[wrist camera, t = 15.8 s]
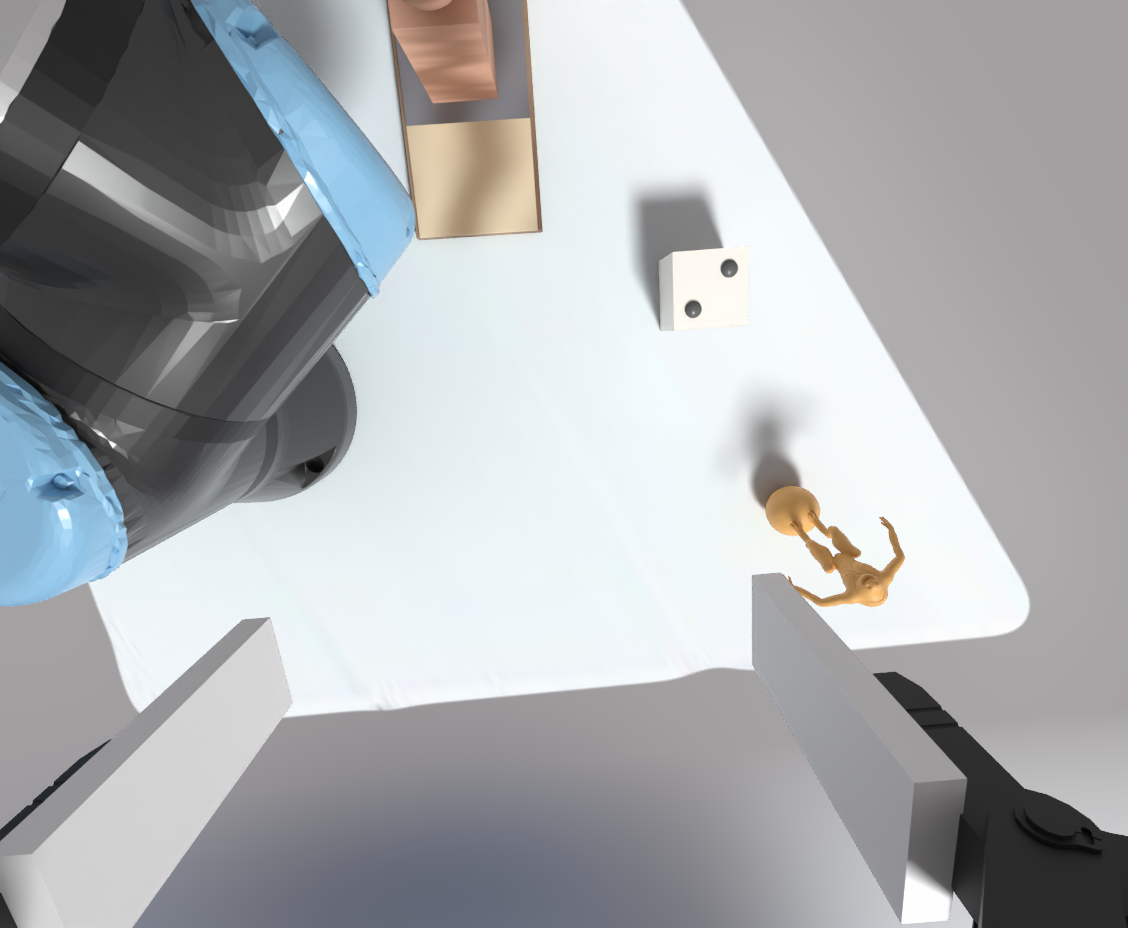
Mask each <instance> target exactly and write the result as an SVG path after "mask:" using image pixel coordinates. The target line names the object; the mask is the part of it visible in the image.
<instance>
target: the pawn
mask: <svg viewBox="0 0 1128 928" xmlns="http://www.w3.org/2000/svg"><path fill="white" fill-rule="evenodd" d="M388 5H389V13H390V20H391V28H392V31H393V33H394V34H395V36H396V38H397V40H398V41H399V43H400V45H401V47H402V49H403V50H404V52H405V54H406V56H407V58H408V59H409V61H410V63H411V65H412V67H413V68H414V70H415V72H416V74H417V76H418V77H419V79H420V81H421V83H422V85H423V86H424V88H425V90H426V92H427V94H428V95H429V97H430V99H431V101H432V102H433V103H445V102H458V101H472V100H485V99H498V89H497V77H496V66H495V55H494V44H493V32H492V21H491V16H490V12H489V7H488V3H487V0H388Z"/></svg>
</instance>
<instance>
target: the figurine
mask: <svg viewBox="0 0 1128 928" xmlns="http://www.w3.org/2000/svg"><path fill="white" fill-rule="evenodd" d="M766 516H767V519H768V521H769V523H770V524H771V526H772V527H773V528H774V529H775V530H777V531H778V532H780V533H782V534H785V535H789V536H798V535H799V536H800V537H801V538H802V539H803V540H804V542H805V543H806V547H807V548H808V549H809V550H810V552H811V554H812V555H813V557H814V558H815V559H816V560H817V561H818V562H819V563H820V564H821V566H822V568H823V569H824V571H825V572H826V573H832V572H833V571H834V570H835V569H837V570H838V571H839V573H840V574H841V578H842V580H843V583H844V585H845V587H846V591H845V592H844V593H842V594H838V595H834V596H830V597H827V598H824V599H821V598H819V597H817V596H816V595H813V594H811V593H810V592H808V591H806V590H805V589H803V588H800V587H797V586H794V585H793V584H792V581H791V578H790V577H789V576H788V578H789V583H790V584H791V585H792V586H793V587H794V588H795V589H796V590H797V591H798V592H799V594H800V595H802V596H804V597H805V598H807V599H809V600H811V601H812V602H814V603H815V604H816V605H818V606H821V607H828V606H834V605H840V604H854V603H861V604H863V605H866V606H870V607H875V606H879V605H881V604H883V603H884V602H885V601H886V599H887V596H888V590H887V588H888V585H889V584H890V583H891V582H892V580H893V578H894V575H895V573H896V572H897V571H898V569H899V568H900V567H901V565H902V564H903V562H904V559H905V556H904V553H903V552H902V550H901V548H900V545H899V542H898V538H897V535H896V533H895V531H894V528H893V527H892V525H891V524H890V523H889V522H888V521H887V520H886V519H885V518H884V517H882V518H883V519H882V518H881V517H879V518H880V519H881V520H882V521H883V522H884V523H885V524H884V523H883V522H881V523H882V524H883V525H884V526H886V527H887V528H888V530H889V539H890V542H891V544H892V546H893V550H894V553H895V554H896V557H895V558H894V559H893V560H892V561H891V562H890V563H889V564H888V565H887V566H886V567H885V569H884V570H882V571H878V570H876V569H875V568H873V567H872V566H870V565H868V564H865V563H861V562H858V561H856V560H854V558H857V557H859V556H860V555H861V551H860V550H859V549H857V548H856V547H854V546H853V545H852V544H851V543H850V541H849V540H848V538H847V537H846V536H845V535H844V534H843V533H842V532H841V531H840V530H839V529H838V528H837V527H835V526H830V527H829V528H828V529H826V527H825V526H824V525H823V524H822V523H821V521H820V520H819V516H820V507H819V504H818V501H817V500H816V498H815V497H814V495H813V494H812V493H810V492H809V491H808V490H806V489H804V488H801V487H798V486H786V487H782V488H780V489H778V490H776V491H775V492H774V493H773V494H772V495H771V496H770V497H769V499H768V501H767V504H766ZM815 526H816V527H817V528H818V529H819V530H820V531H821V532H822V533H823V534H824V535H825V536H826V537H828V538H832V543H833V545H834V547H835V548H836V549H837V550H839V551H840V552H841V553H837V554H835V556H834V557H833V556H832V554H831V552H830V551H829V549H828V548H826V547H825V546H822V545H819V544H818V543H816V542H815V541H813V540H811V539H810V538H809V536H808V535H807V534H806V533H807V532H809V531H810V530H812V529H813V528H814V527H815ZM782 575H783V574H782ZM783 576H784V575H783ZM784 577H785V576H784ZM785 578H786V577H785ZM786 579H787V578H786Z"/></svg>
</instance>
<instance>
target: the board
mask: <svg viewBox="0 0 1128 928" xmlns="http://www.w3.org/2000/svg"><path fill="white" fill-rule="evenodd" d="M387 3H388V0H387ZM487 3H488V7H489V12H490V16H491V21H492V32H493V44H494V55H495V66H496V77H497V89H498V99H485V100H472V101H458V102H445V103H433V102H432V101H431V99H430V97H429V95H428V94H427V92H426V90H425V88H424V86H423V85H422V83H421V81H420V79H419V77H418V76H417V74H416V72H415V70H414V68H413V67H412V65H411V63H410V61H409V59H408V58H407V56H406V54H405V52H404V50H403V49H402V47H401V45H400V43H399V41H398V40H397V38H396V36H395V34H394V33H393V31H392V28H391V35H392V43H393V51H394V59H395V67H396V75H397V83H398V91H399V99H400V107H401V115H402V123H403V131H404V140H405V148H406V156H407V164H408V172H409V180H410V188H411V196H412V203H413V207H414V212H415V228H416V236H417V239H419V240H428V239H443V238H459V237H474V236H489V235H505V234H520V233H535V232H542V219H541V204H540V189H539V175H538V160H537V145H536V130H535V115H534V100H533V86H532V71H531V56H530V41H529V26H528V11H527V0H487ZM388 11H389V5H388ZM389 19H390V13H389ZM390 27H391V20H390Z"/></svg>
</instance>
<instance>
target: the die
mask: <svg viewBox="0 0 1128 928" xmlns="http://www.w3.org/2000/svg"><path fill="white" fill-rule="evenodd" d="M659 296H660V331H681V330H694V329H707V328H720V327H733V326H746V325H748V297H749V246H744V247H732V248H719V249H706V250H693V251H680V252H672V253H670V254H669V255H667V256H666V257H664V258H663V259H661V260H660V261H659Z"/></svg>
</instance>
